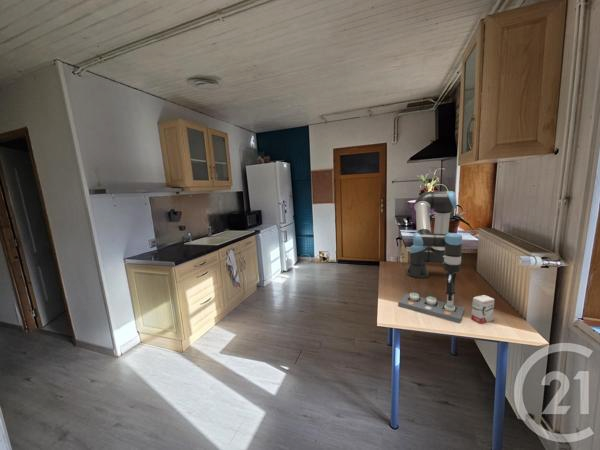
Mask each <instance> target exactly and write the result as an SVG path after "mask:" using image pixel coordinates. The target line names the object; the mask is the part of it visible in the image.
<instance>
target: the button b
mask: <svg viewBox="0 0 600 450" xmlns="http://www.w3.org/2000/svg"><path fill="white" fill-rule="evenodd" d="M426 298H427V300H426V303H427V304H426V305H430V306H434V307H436V306H435V305H436V301H437V298H436V297H434V296H430V295H429V296H426Z"/></svg>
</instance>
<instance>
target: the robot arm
mask: <svg viewBox="0 0 600 450" xmlns="http://www.w3.org/2000/svg"><path fill="white" fill-rule="evenodd" d="M413 205H414V207H413V208H414V211H415V218H416V222H415V223H416V232H413V239H412V240H413V241H412V245H411V246H410V247H409V264H408V267H407V270H406V275H407V274H408V275H410V276H409V277H411V276H413V277H412V278H414V277H417V278H416V279H427V278H428V277H429V275H430V273H429V269H428V265H427V263H429V264H430V263H431V264H441V265H442V264H443V270H444V271H446V272H447V273H446V280H445V281H446V292H445V295H446V303H447V305H448V306H452V307H453V305H454V299H455V298H454V297H455V296H454V295H455V294H456V290H455V288H456V287H455V286H456V279H457V278H456V277H457V275H458V274H457V273H460V272H461V270H462V269H461V268H462V267H461V265H462V251H463V250H462V248H463V242H464V241H463V235H462V234H461V233H456V232H449V228H450V217H451V214H452V213H453V212H454V210H455V209H456V210H457V197H456V193H455V192H454V191H452V190H441V191H440V190H438V191H435V190H434V191H426V192H423V193H421V194H420V195H419V196H418V197H417V198H416V200H415V201H414V204H413ZM430 209H431V210H432V211H433V212H434V213H435V215H434V216H435V217H434V226H433V227H434V229H433V233H432V227H431V218H430ZM408 275H407V276H408ZM426 277H427V278H426Z"/></svg>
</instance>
